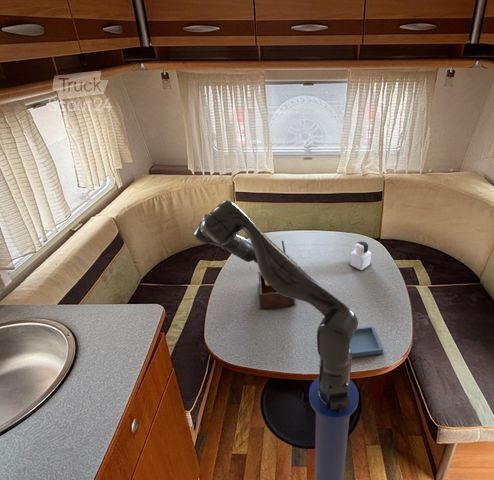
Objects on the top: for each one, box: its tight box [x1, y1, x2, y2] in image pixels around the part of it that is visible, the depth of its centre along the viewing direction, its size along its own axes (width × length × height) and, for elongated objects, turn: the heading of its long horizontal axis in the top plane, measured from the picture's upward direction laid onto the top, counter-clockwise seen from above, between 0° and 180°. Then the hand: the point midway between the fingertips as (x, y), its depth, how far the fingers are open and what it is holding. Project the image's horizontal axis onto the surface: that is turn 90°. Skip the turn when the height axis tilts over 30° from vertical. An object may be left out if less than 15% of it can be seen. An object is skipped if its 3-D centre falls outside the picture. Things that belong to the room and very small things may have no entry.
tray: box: [349, 325, 384, 358], centre depth 130 cm, size 12×16×2 cm
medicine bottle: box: [349, 240, 372, 271], centre depth 170 cm, size 7×7×12 cm
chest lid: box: [281, 240, 288, 255], centre depth 147 cm, size 15×16×1 cm
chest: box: [258, 271, 295, 310], centre depth 153 cm, size 14×16×7 cm
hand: (273, 265), depth 147 cm, fingers closed on cookie roll, 5 cm apart
